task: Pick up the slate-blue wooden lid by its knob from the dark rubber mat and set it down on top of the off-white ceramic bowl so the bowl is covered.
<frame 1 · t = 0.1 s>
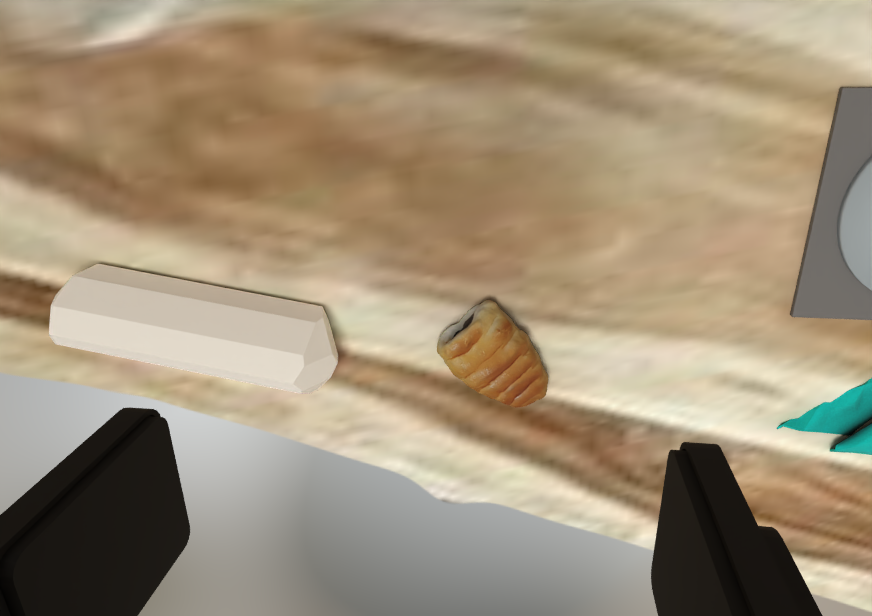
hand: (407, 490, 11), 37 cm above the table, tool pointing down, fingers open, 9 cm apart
crystal: (214, 320, 54), on the table
pastry: (494, 345, 51), on the table
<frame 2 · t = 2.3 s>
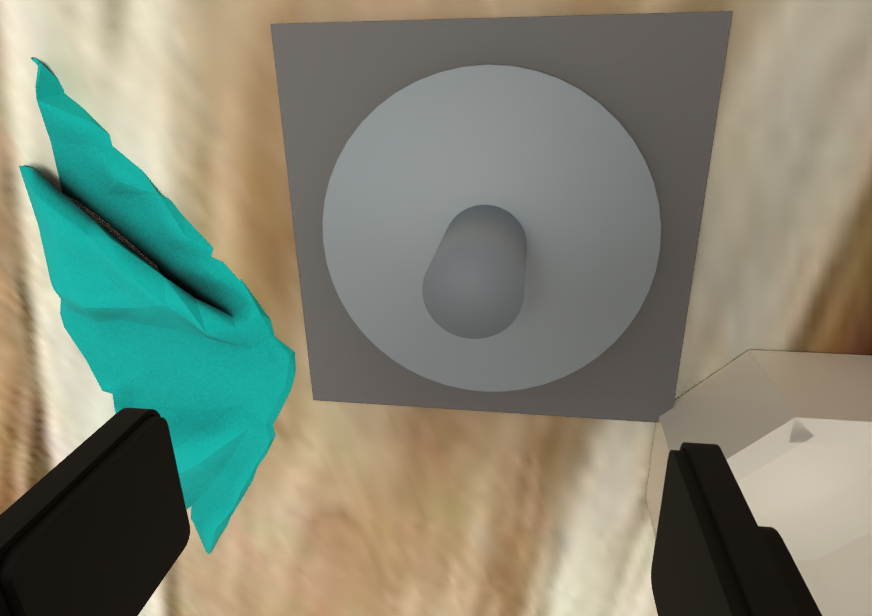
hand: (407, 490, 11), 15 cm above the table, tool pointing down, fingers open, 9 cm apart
mat: (487, 236, 25), on the table
bowl: (782, 464, 27), on the table
cloth: (171, 342, 31), on the table
lid: (486, 239, 25), resting on mat
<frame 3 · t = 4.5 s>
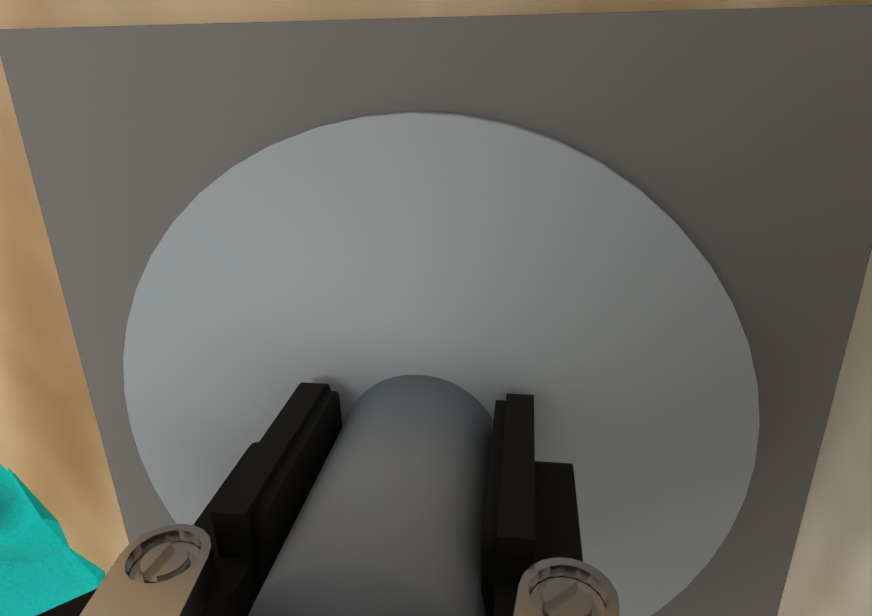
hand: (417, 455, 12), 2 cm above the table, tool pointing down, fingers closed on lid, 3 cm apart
mat: (429, 412, 14), on the table
lid: (426, 422, 14), resting on mat, touching gripper
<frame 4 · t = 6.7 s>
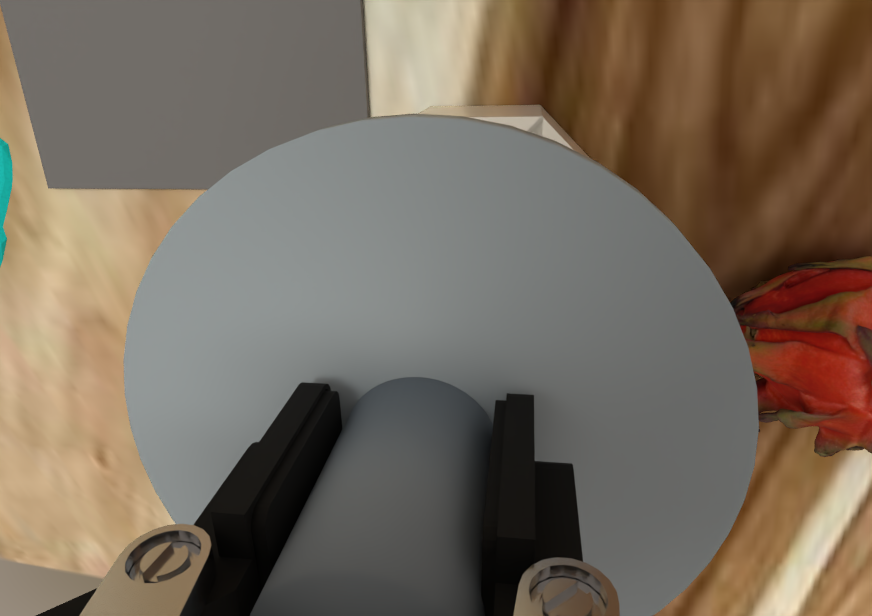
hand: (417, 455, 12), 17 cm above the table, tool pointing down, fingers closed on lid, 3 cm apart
bowl: (484, 232, 28), on the table
dragon fruit: (818, 321, 28), on the table
lid: (426, 424, 14), point 16 cm above the table, touching gripper
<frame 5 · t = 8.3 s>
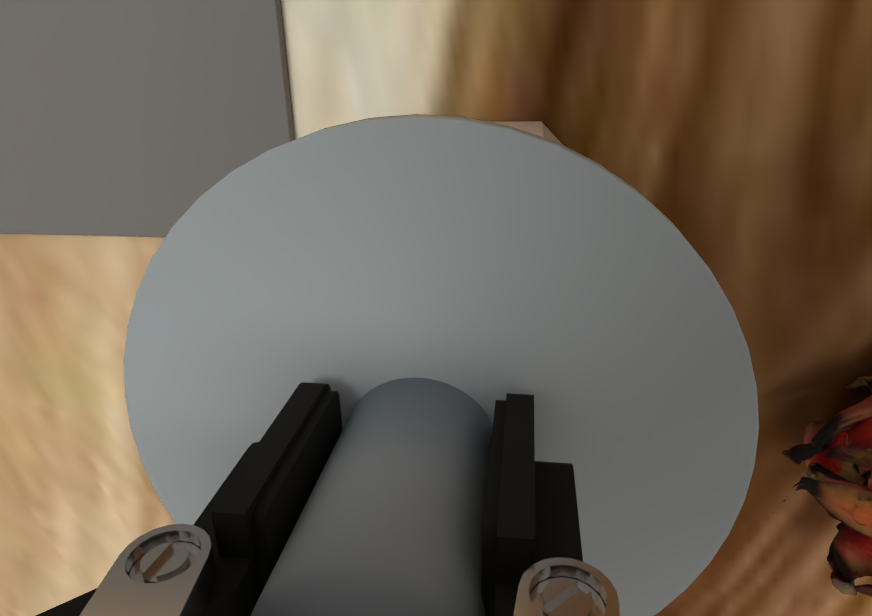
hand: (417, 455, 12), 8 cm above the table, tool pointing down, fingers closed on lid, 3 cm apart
bowl: (461, 300, 20), on the table
lid: (426, 424, 14), point 7 cm above the table, touching gripper
when the fingers open (7 cm above the table, at t = 9.1 s): lid drops 1 cm, resting on bowl.
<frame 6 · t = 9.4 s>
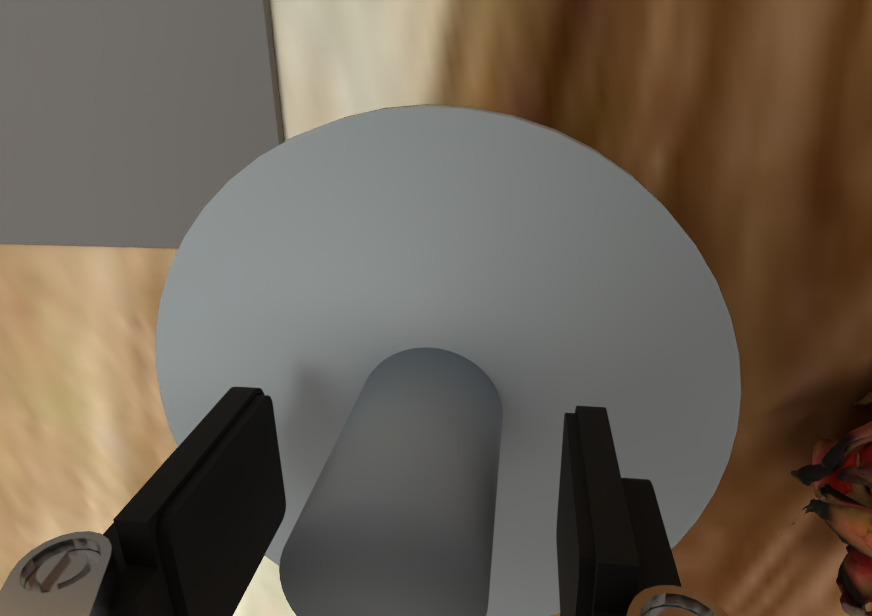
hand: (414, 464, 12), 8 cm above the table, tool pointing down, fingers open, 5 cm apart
lid: (435, 393, 15), point 5 cm above the table, touching bowl
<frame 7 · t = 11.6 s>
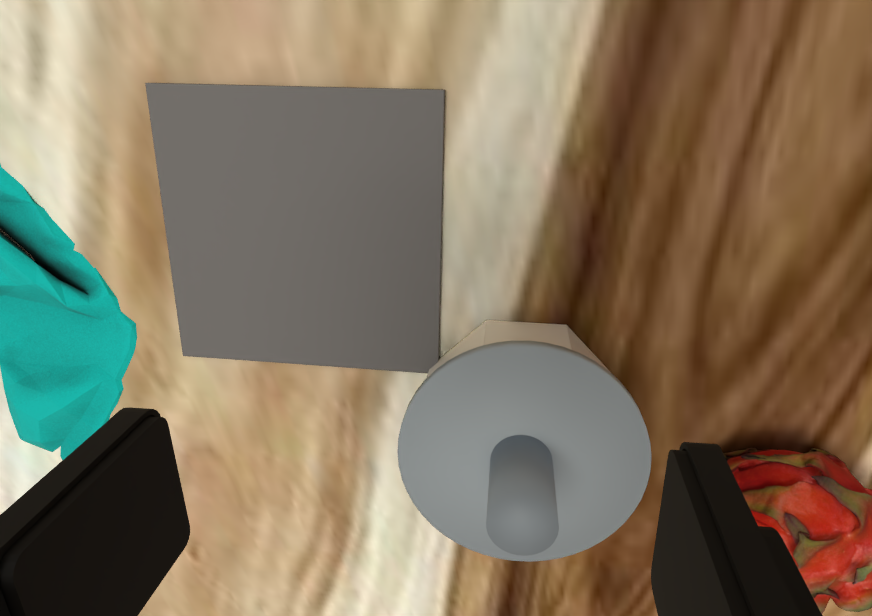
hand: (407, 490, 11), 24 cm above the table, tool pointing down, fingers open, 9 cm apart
mat: (302, 235, 35), on the table
bowl: (519, 406, 38), on the table
cloth: (46, 315, 40), on the table
dragon fruit: (764, 480, 38), on the table
lid: (521, 452, 33), point 5 cm above the table, touching bowl
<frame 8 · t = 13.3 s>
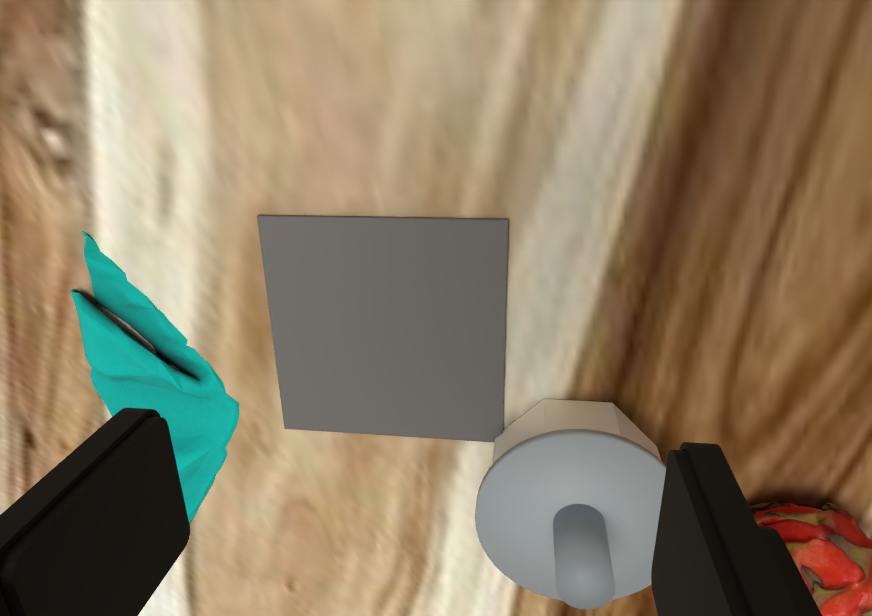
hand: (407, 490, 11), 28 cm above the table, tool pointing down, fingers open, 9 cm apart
mat: (386, 332, 42), on the table
bowl: (572, 467, 44), on the table
cloth: (161, 394, 48), on the table
dragon fruit: (785, 526, 44), on the table
lid: (577, 515, 40), point 5 cm above the table, touching bowl
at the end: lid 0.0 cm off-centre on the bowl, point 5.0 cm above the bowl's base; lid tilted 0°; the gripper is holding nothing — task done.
